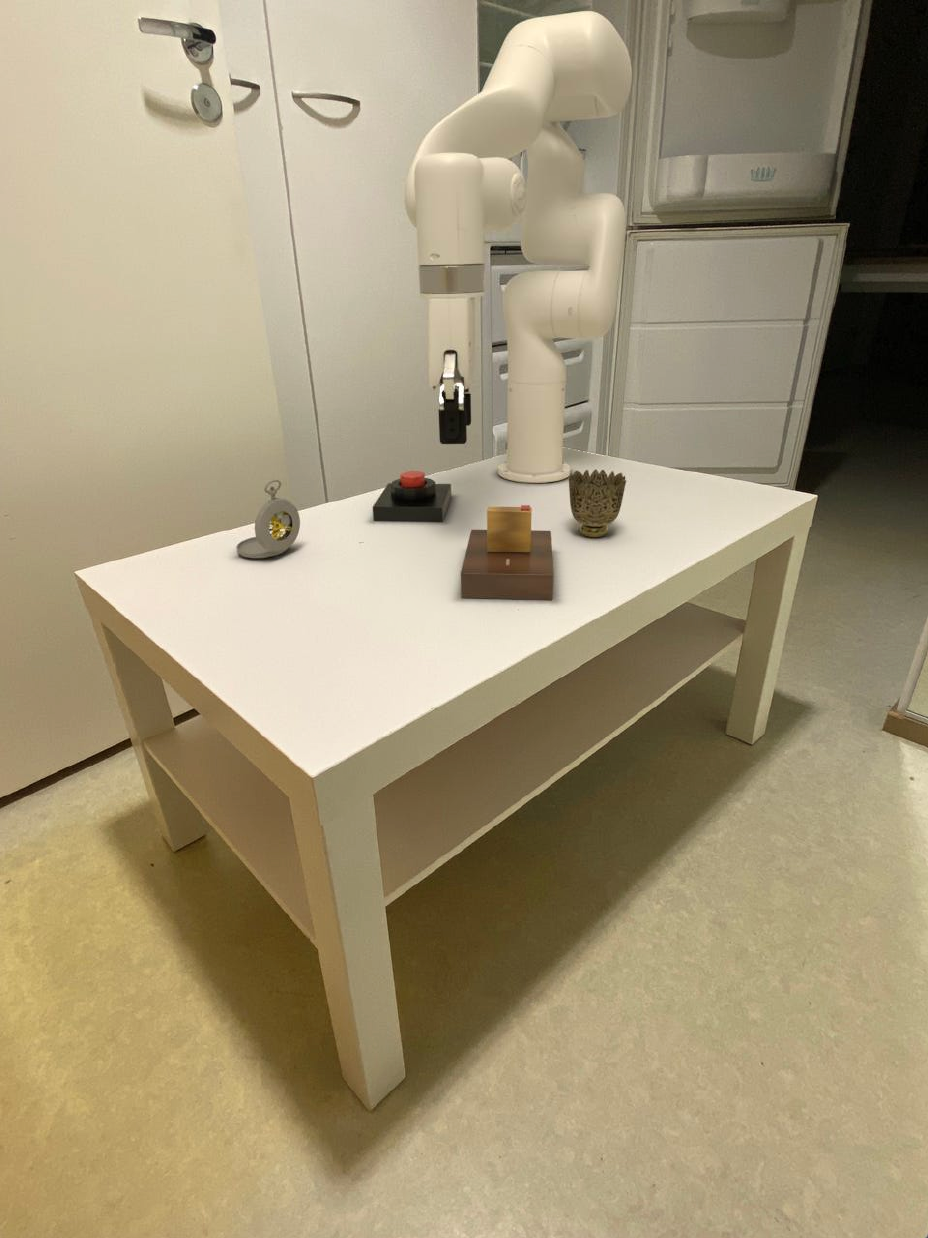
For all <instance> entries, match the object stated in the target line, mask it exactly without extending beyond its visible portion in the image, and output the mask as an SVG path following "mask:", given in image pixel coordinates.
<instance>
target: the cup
mask: <svg viewBox="0 0 928 1238" xmlns="http://www.w3.org/2000/svg"><path fill="white" fill-rule="evenodd" d="M568 477H569V478H568V491H569V503H570V510H571V511H570V512H571V514H572V516H573V518H574V520H575V521H576V522H578V523H579V524H580V527H579V530H580V533H581V534H582V535H583V536H585V537H588V538H602V537H604V536H606V534H607V532H608V530H609V527H608V525H610V524H612V523H614V521H615V520H616V519H617V517H618V516H619V514H620V511H621V507H622V503H623V498H624V495H625V490H626V489H625V488H626V485H627V479H626V475H624V474H623V472H618V473H616V474H615V473H614V470H612V471H610V473H609V475H608V473H606V471H605V469H601V471H599V470H598V469H594V470H592V472H591V473H590V472H589V470H588V469H586V470H584V472H583V474H582V472H580V471H579V470H575V471H574V472H573V473H572V472H571V473H570V475H569V476H568Z"/></svg>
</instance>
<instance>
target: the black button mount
mask: <svg viewBox="0 0 928 1238" xmlns="http://www.w3.org/2000/svg"><path fill="white" fill-rule="evenodd" d="M451 499H452V484H451V483H436V481H435V480H433V479H432V478H430V477H429V478H428V477H425V485H423V486H419V487H404V486H401V478H400V477H399V478H398V479H394V480H393V481H391V482H389V483H387V484H386V486H385V487H384V489H383V490H382V492H381V493H380V495H379V497H378V498H377V500H376V501H375V503H374V504H373V506H372V516H373V518H372V519H373V522H388V523H389V522H391V523H392V522H393V523H394V522H396V523H399V522H401V523H407V522H408V523H443V522H444V519H445V516H446V513H447V510H448V508H449V505H450V502H451Z"/></svg>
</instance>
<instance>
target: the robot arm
mask: <svg viewBox="0 0 928 1238" xmlns="http://www.w3.org/2000/svg"><path fill="white" fill-rule="evenodd" d="M632 84H633V68H632V61H631V57H630V53H629V49H628V48H627V46H626V44H625V41H624V40H623V39H622V37H621V36H620V34H619V33H618V31H617V30H616V28H615V26H613V24H612V23H611V22H610V20H608V19H607V18H606V17H605V16H604V15H602V14H600V13H598V12H596V11H592V10H582V11H574V12H568V13H561V14H553V15H546V16H538V17H533V18H529V19H525V20H523V21H521V22H519V23H518V24H515V26H514V27H513V28H512V29H511V30H510V31H509V32H508V33H507V35H506V36H505V38H504V40H503V43H502V45H501V47H500V49H499V51H498V53H497V56H496V58H495V60H494V62H493V65H492V68H491V69H490V72H489V74H488V75H487V79H486V80H485V83H484V85H483V87H482V90H481V92H479V93H477V94H476V95H474V96H473V97H471V98H470V99H468V100H466V101H465V102H464V103H462V105H460V106H459V107H458V108H456V109H455V110H454V111H452V112H450V113H449V114H448V115H446V116H445V117H444V118H442V119H440V121H439V122H438V123H437V124H435V125H434V126H433V127H432V128H431V129H430V131H428V132H427V134H426V135H425V136H424V137H423V139H422V141H421V143H420V145H419V147H418V149H417V151H416V153H415V155H414V158H413V160H412V162H411V165H410V167H409V170H408V173H407V177H406V181H405V187H404V206H405V210H406V215H407V217H408V219H409V221H410V224H412V226H413V227H415V229H416V241H417V260H418V267H417V268H418V286H419V298H420V299H424V300H426V299H427V300H428V304H427V358H428V359H427V360H428V361H427V364H428V369H427V370H428V371H427V373H428V388H429V389H430V390H431V391H435V390H436V389H437V387H439V408H438V411H437V412H438V432H439V434H438V435H439V443H440V444H441V445H465V444H466V443H467V440H468V437H467V436H468V435H467V433H468V432H467V426H468V427H469V426H470V425H471V424H472V394H471V392H470V387H471V384H472V381H473V378H474V377H473V376H474V369H475V368H474V366H475V354H476V352H475V351H476V350H475V349H476V298H481V297H486V265H485V262H486V261H485V259H486V258H485V257H486V256H485V254H486V253H485V251H486V250H485V234H494V233H502V232H506V231H508V230H510V229H512V228H513V227H515V226H516V225H517V224H518V222H519V221H520V220H521V218H522V221H521V230H520V249H521V253H522V256H523V257H524V258H525V260H526V261H527V262H529V263H530V264H531V263H532V264H535V265H541V266H588V269H587V270H586V269H585V270H583V269H582V270H561V269H558V270H554V269H553V270H550V269H549V270H548V269H547V270H529V271H525V272H520V273H518V274H516V275H514V276H513V277H512V278H510V279H509V281H507V283H506V285H505V287H504V288H503V293H502V301H501V302H502V303H501V304H502V314H503V315H502V316H503V321H504V328H505V335H506V345H507V346H506V347H507V416H506V421H507V422H506V423H507V424H506V426H507V427H506V461H504V462H502V463H500V464H499V465H498V466H497V474H498V476H500V477H501V478H503V479H504V480H505V479H506V480H508V481H512V482H516V483H517V482H518V483H527V484H544V483H552V482H558V481H562V480H565V479H567V478H568V477H569V475H570V473H571V474H572V468H571V466H570V465H569V464H568V463H567V462H563V455H564V454H563V453H564V452H563V451H564V433H565V432H564V431H565V412H566V411H565V409H566V391H567V390H566V389H567V388H566V387H567V365H566V362H565V358H564V357H563V355H562V353H561V351H560V350H559V348H558V346H557V344H556V343H555V342H554V339H599V338H602V337H604V336H605V335H607V334H608V333H609V332H610V330H611V328H612V327H613V326H612V325H613V322H614V319H615V315H616V309H617V303H618V294H619V287H620V281H621V274H622V266H623V258H624V251H625V245H626V233H627V217H626V211H625V207H624V203H623V201H621V199H620V198H619V197H618V196H616V195H615V194H613V193H609V192H590V193H582V190H583V182H584V175H585V161H584V157H583V155H582V152H581V151H580V149H579V148H578V146H577V144H576V143H575V141H574V140H573V138H571V136H570V134H568V132H567V131H566V130H565V129H564V127H563V126H562V124H561V123H560V122H569V121H571V122H573V121H580V120H581V121H583V120H593V119H605V118H606V119H607V118H610V117H614V116H616V115H618V114H619V113H620V112H622V111H623V109H624V108H625V106H626V105H627V102H628V101H629V97H630V93H631V88H632ZM524 151H525V154H526V157H527V159H526V160H527V178H526V179H527V180H526V181H525V177H524V175H523V173H522V171H521V169H520V168H519V167H518V166H517V164H516V163H514V162H513V161H511V160H509V159H511V158H512V157H515V156H516V155H518V154H521V153H522V152H524Z"/></svg>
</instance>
